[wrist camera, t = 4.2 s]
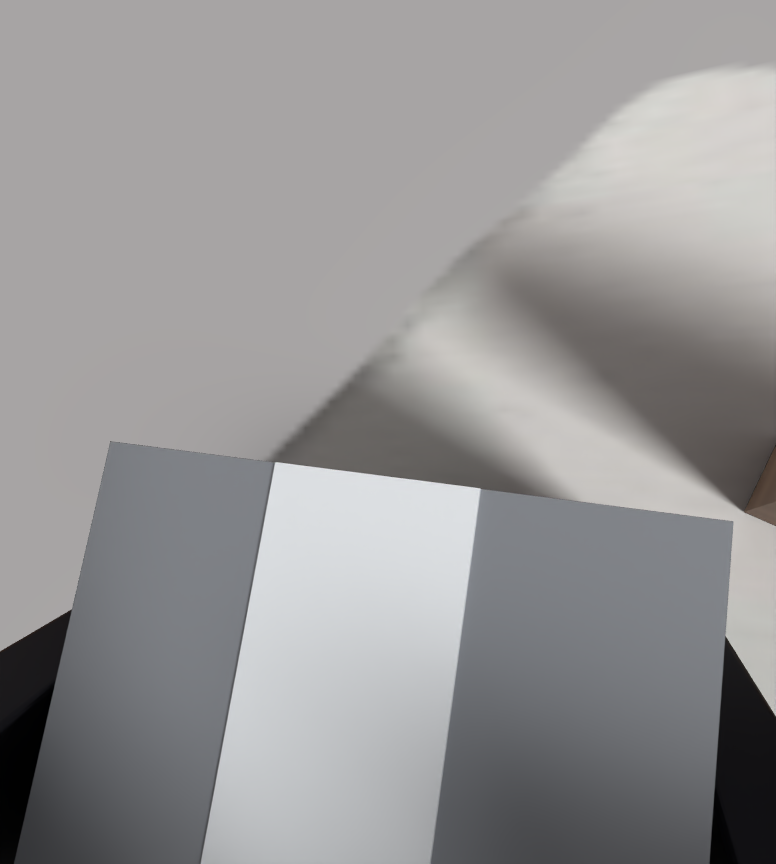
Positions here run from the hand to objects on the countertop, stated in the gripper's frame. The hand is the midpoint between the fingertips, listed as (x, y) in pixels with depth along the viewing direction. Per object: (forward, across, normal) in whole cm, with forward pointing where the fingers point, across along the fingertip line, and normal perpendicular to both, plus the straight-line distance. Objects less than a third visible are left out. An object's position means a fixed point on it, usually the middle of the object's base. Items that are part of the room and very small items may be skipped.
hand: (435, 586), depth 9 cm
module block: (+4, 0, +6) cm, 7 cm away
